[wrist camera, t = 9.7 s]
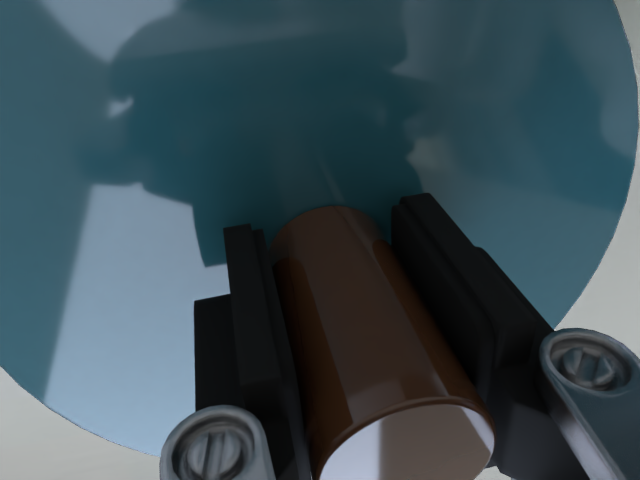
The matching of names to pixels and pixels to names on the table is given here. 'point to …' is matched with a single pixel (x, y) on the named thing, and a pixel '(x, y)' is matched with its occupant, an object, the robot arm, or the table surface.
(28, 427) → the table surface
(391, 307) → the bowl lid
